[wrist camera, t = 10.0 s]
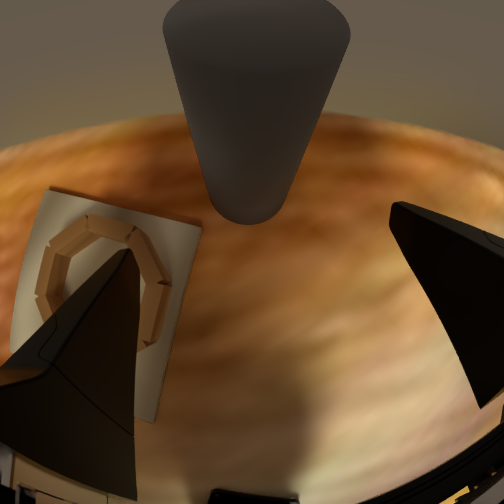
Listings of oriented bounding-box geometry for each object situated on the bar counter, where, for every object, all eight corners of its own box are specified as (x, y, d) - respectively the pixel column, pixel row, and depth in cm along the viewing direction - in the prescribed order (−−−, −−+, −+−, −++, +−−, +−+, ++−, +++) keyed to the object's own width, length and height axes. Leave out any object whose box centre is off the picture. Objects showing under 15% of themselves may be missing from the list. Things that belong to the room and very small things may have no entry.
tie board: (202, 229, 18) (196, 218, 15) (155, 421, 16) (143, 436, 13) (49, 191, 18) (31, 180, 16) (12, 350, 16) (-7, 353, 13)
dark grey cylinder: (293, 163, 19) (352, 0, 6) (276, 233, 18) (344, 97, 5) (221, 146, 19) (202, -25, 6) (199, 213, 18) (129, 61, 5)
